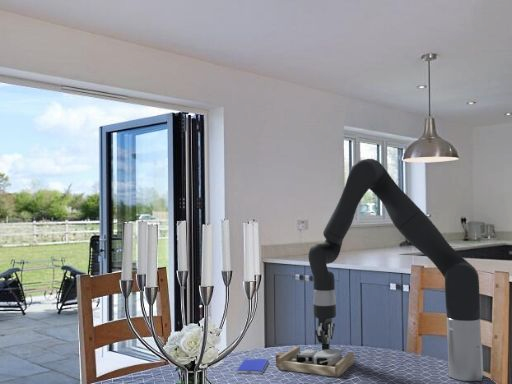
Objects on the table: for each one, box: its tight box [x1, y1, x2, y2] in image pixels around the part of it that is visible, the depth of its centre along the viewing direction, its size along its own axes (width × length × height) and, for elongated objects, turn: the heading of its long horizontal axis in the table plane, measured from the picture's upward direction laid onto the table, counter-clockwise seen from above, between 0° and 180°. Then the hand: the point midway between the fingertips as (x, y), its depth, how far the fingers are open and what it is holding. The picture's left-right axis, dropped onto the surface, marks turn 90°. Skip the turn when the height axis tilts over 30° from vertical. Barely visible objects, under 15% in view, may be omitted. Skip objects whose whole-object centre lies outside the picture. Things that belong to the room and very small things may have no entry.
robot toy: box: [292, 348, 345, 367], centre depth 173 cm, size 12×4×15 cm
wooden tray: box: [275, 345, 355, 378], centre depth 172 cm, size 22×16×4 cm
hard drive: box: [236, 358, 270, 375], centre depth 171 cm, size 2×8×12 cm
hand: (326, 354), depth 179 cm, fingers closed
